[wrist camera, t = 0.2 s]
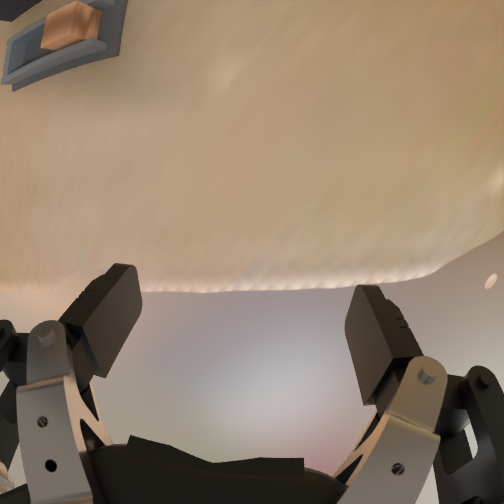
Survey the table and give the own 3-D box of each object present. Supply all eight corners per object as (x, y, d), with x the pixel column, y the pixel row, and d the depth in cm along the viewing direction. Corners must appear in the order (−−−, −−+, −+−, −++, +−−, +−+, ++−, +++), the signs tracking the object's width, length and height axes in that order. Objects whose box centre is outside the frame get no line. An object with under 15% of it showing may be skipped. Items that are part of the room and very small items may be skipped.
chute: (22, 38, 23) (6, 36, 19) (129, -8, 23) (115, -18, 19) (14, 91, 29) (-3, 92, 25) (118, 55, 28) (101, 49, 24)
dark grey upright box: (47, -14, 18) (-1, -28, 5) (44, 0, 20) (-7, -12, 7) (14, 9, 19) (-32, 3, 5) (11, 24, 21) (-37, 20, 7)
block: (73, 22, 24) (47, 14, 17) (102, 11, 23) (77, 0, 17) (68, 52, 26) (40, 47, 20) (96, 43, 26) (69, 34, 20)
